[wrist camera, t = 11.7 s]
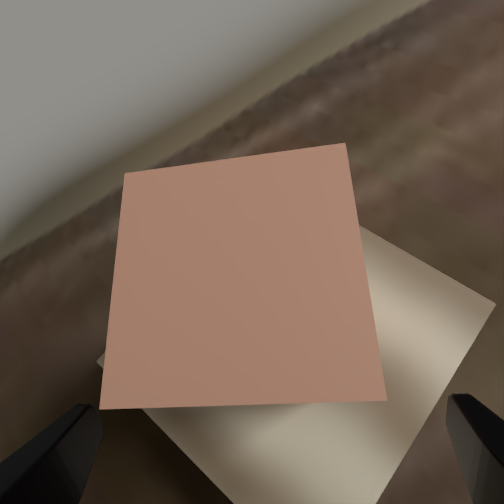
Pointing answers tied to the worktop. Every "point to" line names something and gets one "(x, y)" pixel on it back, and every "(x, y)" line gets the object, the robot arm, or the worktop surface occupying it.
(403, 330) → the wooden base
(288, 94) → the worktop surface
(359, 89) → the worktop surface
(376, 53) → the worktop surface
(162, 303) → the terracotta block
